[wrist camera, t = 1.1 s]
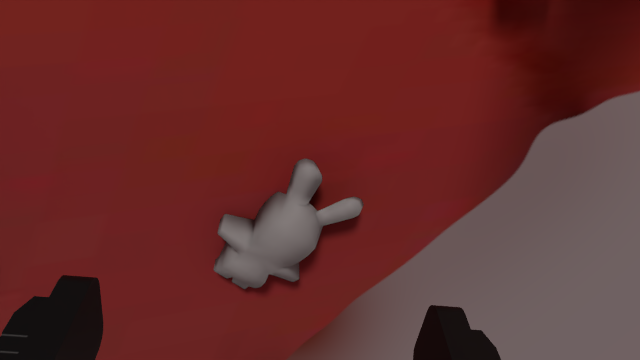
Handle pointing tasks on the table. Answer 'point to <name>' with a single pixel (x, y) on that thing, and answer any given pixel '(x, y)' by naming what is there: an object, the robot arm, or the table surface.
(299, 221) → the bunny figurine
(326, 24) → the table surface
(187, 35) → the table surface
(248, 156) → the table surface
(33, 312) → the robot arm
